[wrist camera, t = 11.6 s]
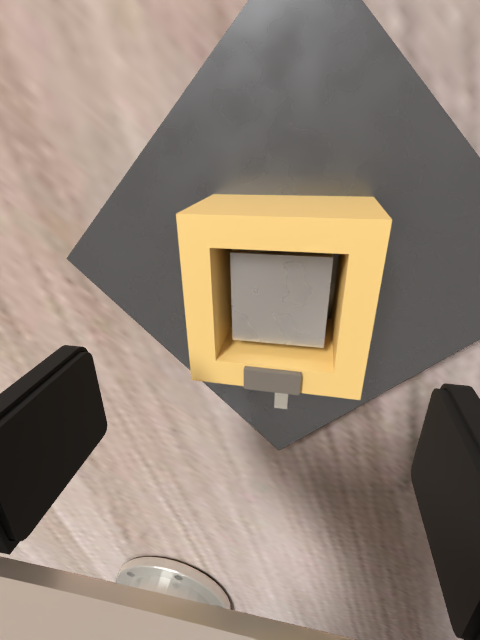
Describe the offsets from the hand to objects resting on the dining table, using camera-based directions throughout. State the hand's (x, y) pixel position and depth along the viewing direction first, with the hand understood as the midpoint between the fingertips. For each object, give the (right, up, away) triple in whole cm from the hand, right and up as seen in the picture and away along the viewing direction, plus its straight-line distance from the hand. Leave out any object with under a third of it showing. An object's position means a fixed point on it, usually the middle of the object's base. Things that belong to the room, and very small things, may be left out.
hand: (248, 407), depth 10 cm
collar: (+2, +5, +8) cm, 10 cm away
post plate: (+2, +6, +10) cm, 11 cm away
